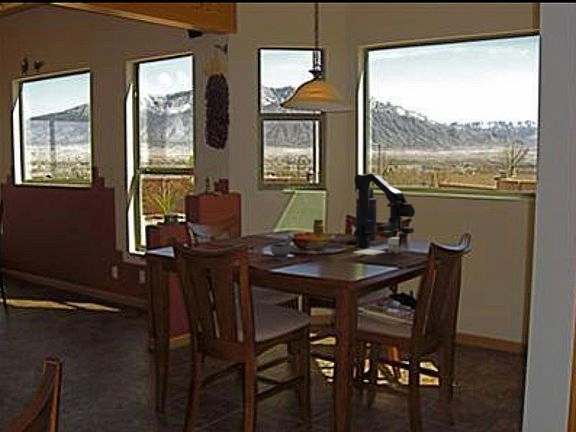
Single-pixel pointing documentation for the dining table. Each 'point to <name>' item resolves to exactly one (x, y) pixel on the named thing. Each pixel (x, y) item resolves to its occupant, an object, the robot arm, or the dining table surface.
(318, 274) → the dining table surface
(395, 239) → the stool
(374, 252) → the mat
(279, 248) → the mortar and pestle
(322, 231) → the condiment
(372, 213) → the dark blue bottle
